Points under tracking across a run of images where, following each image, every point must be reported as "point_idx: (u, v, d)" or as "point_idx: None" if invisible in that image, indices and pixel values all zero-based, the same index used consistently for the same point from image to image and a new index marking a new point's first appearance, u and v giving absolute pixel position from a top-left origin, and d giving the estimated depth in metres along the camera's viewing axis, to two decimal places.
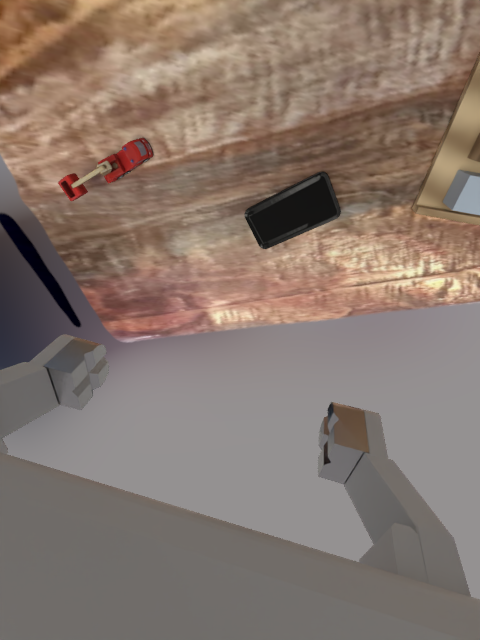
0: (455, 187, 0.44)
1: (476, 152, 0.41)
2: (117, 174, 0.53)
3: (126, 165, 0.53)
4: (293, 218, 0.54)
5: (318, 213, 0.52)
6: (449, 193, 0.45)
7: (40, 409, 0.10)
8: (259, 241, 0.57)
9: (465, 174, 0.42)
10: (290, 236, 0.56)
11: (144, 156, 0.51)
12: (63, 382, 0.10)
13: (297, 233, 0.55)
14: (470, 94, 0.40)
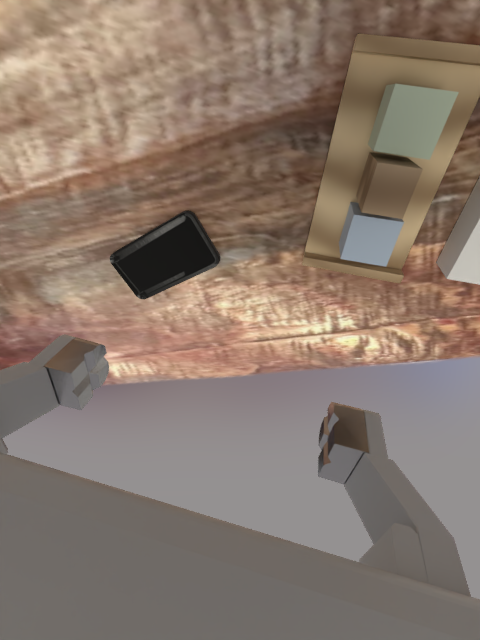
0: (346, 226, 0.32)
1: (360, 191, 0.30)
2: None
3: None
4: (166, 265, 0.43)
5: (193, 260, 0.42)
6: (342, 233, 0.34)
7: (40, 409, 0.10)
8: (135, 290, 0.47)
9: (352, 211, 0.30)
10: (168, 285, 0.45)
11: None
12: (63, 382, 0.10)
13: (175, 282, 0.44)
14: (345, 113, 0.29)
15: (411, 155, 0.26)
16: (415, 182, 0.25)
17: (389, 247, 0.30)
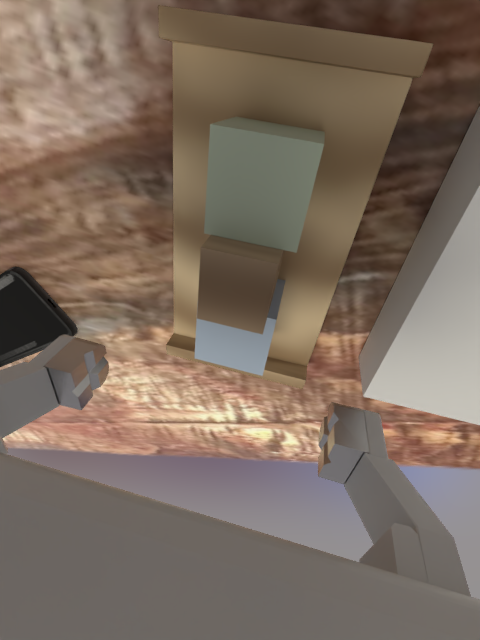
0: None
1: None
2: None
3: None
4: (11, 332, 0.32)
5: (41, 328, 0.30)
6: None
7: (40, 409, 0.10)
8: None
9: None
10: (21, 355, 0.34)
11: None
12: (63, 382, 0.10)
13: (28, 352, 0.33)
14: (183, 145, 0.17)
15: (265, 244, 0.15)
16: (270, 283, 0.14)
17: (261, 351, 0.19)
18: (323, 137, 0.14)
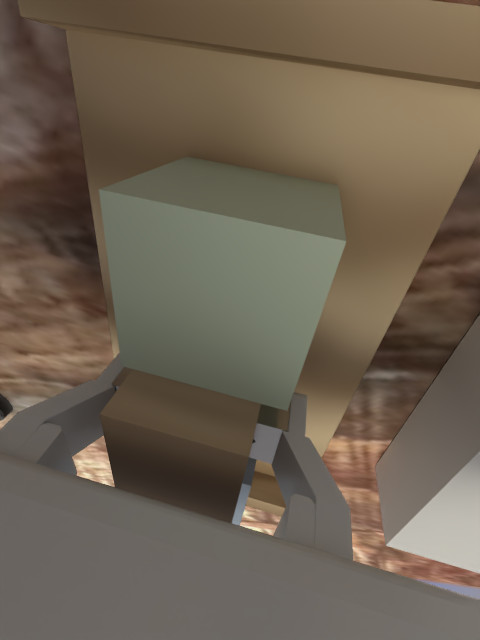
0: None
1: None
2: None
3: None
4: None
5: None
6: None
7: None
8: None
9: None
10: None
11: None
12: None
13: None
14: None
15: (230, 392, 0.08)
16: (236, 479, 0.07)
17: None
18: (339, 208, 0.07)
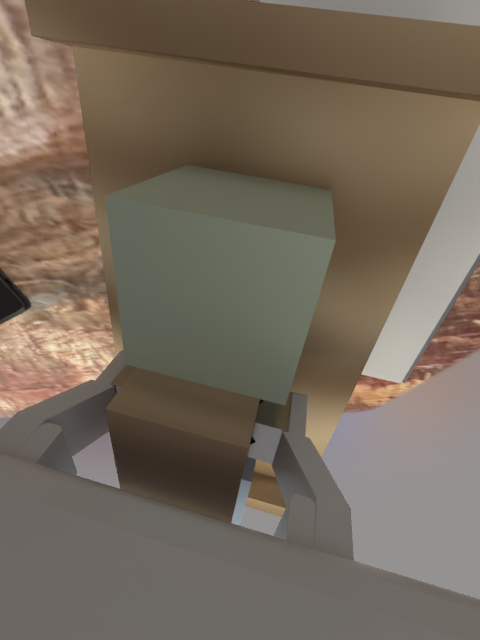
0: None
1: None
2: None
3: None
4: None
5: (2, 303, 0.38)
6: None
7: (104, 427, 0.10)
8: None
9: None
10: None
11: None
12: None
13: None
14: None
15: (230, 388, 0.08)
16: (237, 471, 0.08)
17: None
18: (331, 210, 0.07)
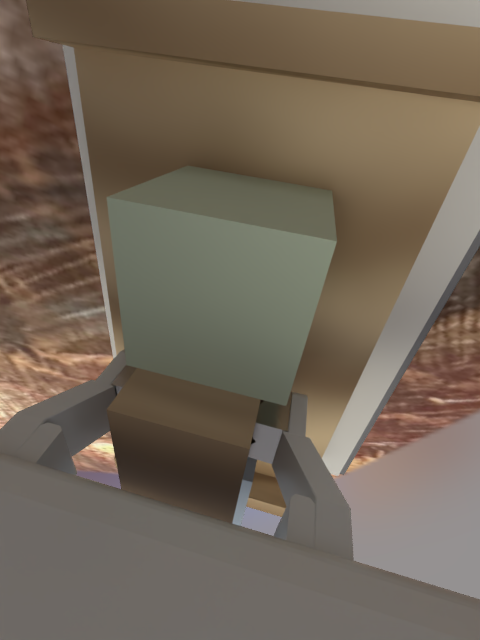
0: None
1: None
2: None
3: None
4: None
5: None
6: None
7: (104, 427, 0.10)
8: None
9: None
10: None
11: None
12: None
13: None
14: None
15: (231, 389, 0.08)
16: (238, 471, 0.08)
17: None
18: (332, 211, 0.07)
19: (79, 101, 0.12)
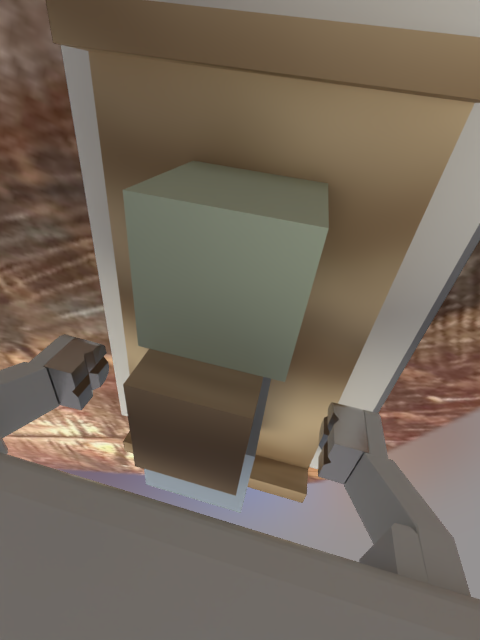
0: None
1: None
2: None
3: None
4: None
5: None
6: None
7: (40, 409, 0.10)
8: None
9: None
10: None
11: None
12: (63, 382, 0.10)
13: None
14: (122, 199, 0.12)
15: (235, 367, 0.09)
16: (242, 441, 0.08)
17: None
18: (326, 202, 0.08)
19: (77, 100, 0.12)
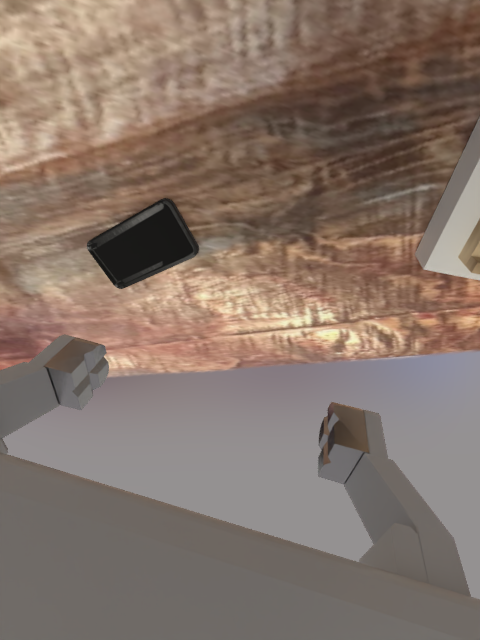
0: None
1: None
2: None
3: None
4: (144, 254, 0.42)
5: (171, 249, 0.41)
6: None
7: (40, 409, 0.10)
8: (112, 279, 0.46)
9: None
10: (146, 275, 0.44)
11: None
12: (63, 382, 0.10)
13: (153, 272, 0.43)
14: None
15: None
16: None
17: None
18: None
19: None
